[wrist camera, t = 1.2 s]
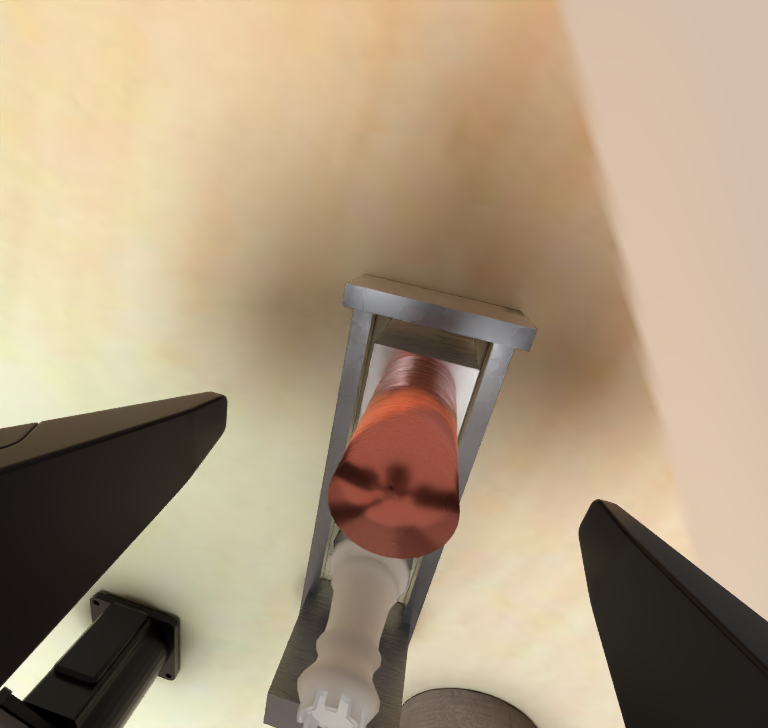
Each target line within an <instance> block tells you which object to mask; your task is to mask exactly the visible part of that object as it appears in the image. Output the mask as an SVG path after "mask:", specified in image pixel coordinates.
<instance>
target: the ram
mask: <svg viewBox="0 0 768 728" xmlns="http://www.w3.org/2000/svg"><path fill="white" fill-rule="evenodd" d="M479 371H480V369H479V364H478V360H477V355H476V350H475V345H474V340H473V338H472V337H468V336H463V335H459V334H455V333H451V332H447V331H443V330H439V329H435V328H431V327H427V326H423V325H419V324H415V323H411V322H407V321H403V320H399V319H394V318H392V319H391V321H390V322H389V323H388V325H387V326H386V328H385V329H384V331H383V332H382V333H381V335H380V336H379V338H378V339H377V340H376V342H375V343H374V348H373V353H372V358H371V362H370V367H369V372H368V377H367V382H366V387H365V391H364V396H363V401H362V406H361V411H360V416H359V420H358V425H357V428H356V430H355V432H354V434H353V436H352V438H351V440H350V442H349V444H348V446H347V448H346V450H345V452H344V454H343V456H342V458H341V460H340V462H339V464H338V466H337V468H336V470H335V472H334V474H333V476H332V479H331V481H330V484H329V488H328V505H329V509H330V512H331V515H332V517H333V519H334V521H335V523H336V524H337V526H338V527H339V529H340V530H341V531H342V532H343V533H344V535H345V536H347V537H348V538H349V539H350V540H351V541H352V542H354V543H355V544H356V545H358V546H360V547H361V548H363V549H365V550H367V551H369V552H371V553H374V554H377V555H380V556H384V557H389V558H397V559H409V558H416V557H421V556H424V555H427V554H430V553H432V552H434V551H436V550H437V549H439V548H441V547H442V546H443V545H444V544H446V542H447V541H448V540H449V539H450V538H451V537H452V535H453V534H454V532H455V530H456V528H457V525H458V521H459V514H460V505H459V470H458V435H459V432H460V429H461V426H462V423H463V420H464V417H465V413H466V410H467V407H468V404H469V401H470V398H471V395H472V392H473V389H474V386H475V383H476V380H477V377H478V374H479Z"/></svg>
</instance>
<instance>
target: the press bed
mask: <svg viewBox="0 0 768 728" xmlns="http://www.w3.org/2000/svg"><path fill="white" fill-rule="evenodd" d="M342 306H346V307H350V308H354V310H353V316H352V321H351V327H350V332H349V338H348V344H347V349H346V355H345V360H344V366H343V372H342V377H341V383H340V388H339V394H338V400H337V405H336V411H335V417H334V422H333V428H332V433H331V439H330V445H329V450H328V456H327V461H326V467H325V473H324V478H323V484H322V489H321V495H320V501H319V506H318V512H317V517H316V523H315V529H314V534H313V540H312V545H311V551H310V557H309V562H308V568H307V573H306V579H305V585H304V590H303V596H302V601H301V607H300V613H299V616H298V619H297V621H296V624H295V626H294V629H293V631H292V634H291V636H290V639H289V641H288V644H287V646H286V649H285V651H284V654H283V656H282V659H281V661H280V664H279V666H278V669H277V671H276V674H275V676H274V679H273V681H272V684H271V686H270V689H269V691H268V695H267V702H266V709H265V715H264V722H263V723H265V724H268V725H270V726H273V727H276V728H303V724H304V723H299V722H297V712H298V709H299V706H300V699H299V695H298V690H297V679H298V678H299V677H300V675H301V674H302V673H303V671H304V670H306V669H307V668H308V667H309V666H311V665H312V664H313V663H314V662H316V660H317V658H318V653H317V650H316V641H317V639H318V638H319V637H320V635H321V634H322V633H324V632H325V629H326V626H327V623H328V619H329V614H330V609H331V603H332V598H333V592H334V590H333V588H332V586H331V581H328V580H325V579H323V574H324V569H325V564H326V559H327V554H328V549H329V544H330V539H331V534H332V530H333V525H334V519H333V517H332V515H331V512H330V509H329V505H328V488H329V484H330V481H331V479H332V476H333V474H334V472H335V470H336V468H337V466H338V464H339V462H340V460H341V458H342V456H343V454H344V452H345V450H346V448H347V446H348V444H349V442H350V440H351V436H352V431H353V426H354V421H355V416H356V411H357V406H358V401H359V396H360V391H361V386H362V381H363V376H364V371H365V366H366V362H367V357H368V352H369V347H370V342H371V337H372V332H373V327H374V322H375V317H376V314H378V315H382V316H386V317H390V318H394V319H399V320H403V321H407V322H411V323H415V324H419V325H423V326H427V327H431V328H435V329H439V330H443V331H447V332H451V333H455V334H459V335H463V336H468V337H472V338H476V339H480V340H484V341H488V342H490V344H489V347H488V350H487V353H486V356H485V359H484V362H483V365H482V368H481V371H480V374H479V377H478V380H477V383H476V386H475V389H474V392H473V395H472V398H471V401H470V405H469V408H468V411H467V414H466V417H465V420H464V423H463V426H462V429H461V432H460V435H459V438H458V470H459V503H460V500H461V497H462V494H463V491H464V489H465V486H466V483H467V480H468V477H469V475H470V472H471V469H472V466H473V463H474V461H475V458H476V455H477V452H478V449H479V447H480V444H481V441H482V438H483V435H484V433H485V430H486V427H487V424H488V421H489V418H490V416H491V413H492V410H493V407H494V404H495V402H496V399H497V396H498V393H499V390H500V388H501V385H502V382H503V379H504V376H505V374H506V371H507V368H508V365H509V362H510V360H511V357H512V354H513V351H514V348H516V349H520V350H524V351H528V352H529V350H530V347H531V345H532V342H533V339H534V337H535V334H536V331H537V328H536V327H535V326H534V325H533V324H532V323H531V322H530V321H529V319H528V318H527V317H526V316H525V315H524V314H523V313H522V312H521V311H518V310H513V309H509V308H505V307H501V306H497V305H492V304H488V303H484V302H480V301H476V300H471V299H467V298H463V297H459V296H454V295H450V294H446V293H442V292H438V291H433V290H429V289H425V288H421V287H416V286H412V285H408V284H404V283H400V282H395V281H391V280H387V279H383V278H378V277H374V276H370V275H366V274H365V275H362V276H360V277H358V278H356V279H354V280H352V281H349V282H347V283H346V285H345V291H344V297H343V303H342ZM444 545H445V544H444ZM444 545H443V546H442V547H441V548H439V549H437V550H436V551H434V552H432V553H430V554H427V555H424V556H421V557H419V560H418V563H417V566H416V569H415V572H414V575H413V578H412V581H411V584H410V587H409V590H408V593H407V596H406V599H405V602H404V605H403V604H400V603H397V602H396V603H395V604H394V605H393V606H392V608H390V610H389V612H388V615H387V619H386V622H385V625H384V628H383V631H382V634H381V638H380V642H379V648H378V650H379V652H380V655H381V665H380V667H379V668H378V669H377V670H376V671H375V672H374V674H373V677H372V681H373V684H374V686H375V689H376V692H377V694H378V697H379V700H380V707H379V712H378V713H377V714H376V715H375V716H374V717H373V719H372V720H371V721H370V722H369V723H368V724H367V725H366V728H399V726H400V716H401V707H402V697H403V688H404V679H405V669H406V660H407V650H408V646H409V643H410V640H411V637H412V634H413V632H414V629H415V626H416V623H417V620H418V617H419V615H420V612H421V609H422V606H423V603H424V601H425V598H426V595H427V592H428V589H429V587H430V584H431V581H432V578H433V575H434V573H435V570H436V567H437V564H438V561H439V559H440V556H441V553H442V550H443V547H444ZM317 728H322V727H320V726H318V727H317Z"/></svg>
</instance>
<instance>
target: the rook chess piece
mask: <svg viewBox="0 0 768 728" xmlns="http://www.w3.org/2000/svg"><path fill="white" fill-rule="evenodd" d="M412 563H413V558H409V559H397V558H389V557H384V556H380V555H377V554H374V553H371V552H369V551H367V550H365V549H363V548H361V547H360V546H358V545H356V544H355V543H354V542H352V541H351V540H350V539H349V538H348V537H347V536H345V535H344V533H343V532H342V531H340V532H339V534H338V535H337V537H336V538H335V540H334V549H333V551H332V552H331V554H330V570H329V573H330V575H331V577H332V578H331V586H332V588H333V590H334V592H333V598H332V603H331V609H330V614H329V619H328V623H327V626H326V629H325V632H324V633H322V634H321V635H320V637H319V638H318V639H317V641H316V650H317V653H318V658H317V660H316V662H314V663H313V664H312V665H311V666H309V667H308V668H307V669H306V670H304V671H303V673H302V674H301V675H300V677H299V678H298V679H297V690H298V695H299V699H300V706H299V709H298V712H297V722H299V723H304V724H303V728H317V727H318V726H320V727H322V728H366V725H367V724H368V723H369V722H370V721H371V720H372V719H373V717H374V716H375V715H376V714H377V713H378V712H379V707H380V700H379V697H378V694H377V692H376V689H375V686H374V684H373V681H372V677H373V674H374V672H375V671H376V670H377V669H378V668H379V667H380V665H381V655H380V652H379V650H378V648H379V642H380V638H381V634H382V631H383V628H384V625H385V622H386V619H387V615H388V612H389V610H390V608H392V606H393V605H394V604H395V603H396V602H397V600H398V598H399V597H400V596H401V594H402V593H403V592H404V591H405V590H406V588H407V585H408V583H409V577H410V571H411V569H412Z"/></svg>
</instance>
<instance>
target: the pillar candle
mask: <svg viewBox="0 0 768 728" xmlns="http://www.w3.org/2000/svg"><path fill="white" fill-rule="evenodd" d="M399 728H536V727H535V726H534V725H533V724H532V723H531V721H530V720H529V719H528V718H527V717H525V716H524V715H523V714H522V713H520V712H519V711H518V710H516V709H515V708H514V707H512V706H509V705H507V703H505V702H504V701H502V700H499V699H497V698H495V697H492V696H490V695H485V694H482V693H479V692H471V691H469V690H461V689H439V690H430V691H427V692H424V693H421V694H419V695H417V696H414V697H412V698H411V699H409V700H407V702H406V703H405V704H404V705H403V706H402V707H401V716H400V726H399Z"/></svg>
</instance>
